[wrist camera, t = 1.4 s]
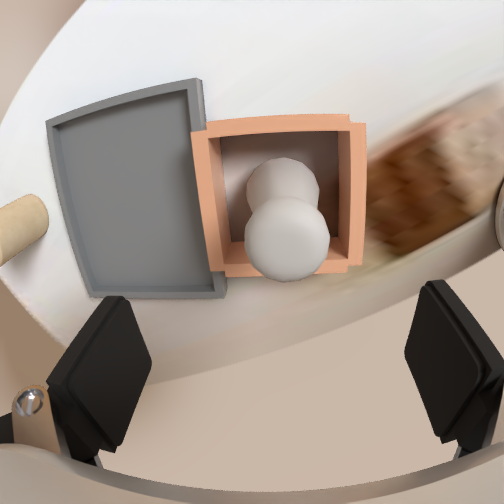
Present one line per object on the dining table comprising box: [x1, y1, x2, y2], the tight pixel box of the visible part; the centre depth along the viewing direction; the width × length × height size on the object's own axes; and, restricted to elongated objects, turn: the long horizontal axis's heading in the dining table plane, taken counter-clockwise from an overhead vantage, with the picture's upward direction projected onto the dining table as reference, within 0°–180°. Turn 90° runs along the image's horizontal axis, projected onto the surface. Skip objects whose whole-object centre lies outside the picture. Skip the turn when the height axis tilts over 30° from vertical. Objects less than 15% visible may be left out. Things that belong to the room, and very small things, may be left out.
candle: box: [0, 194, 49, 267], centre depth 24 cm, size 6×6×10 cm
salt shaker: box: [244, 157, 330, 282], centre depth 20 cm, size 6×6×13 cm
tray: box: [46, 78, 227, 299], centre depth 26 cm, size 16×20×2 cm
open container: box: [190, 114, 366, 277], centre depth 24 cm, size 12×12×4 cm
